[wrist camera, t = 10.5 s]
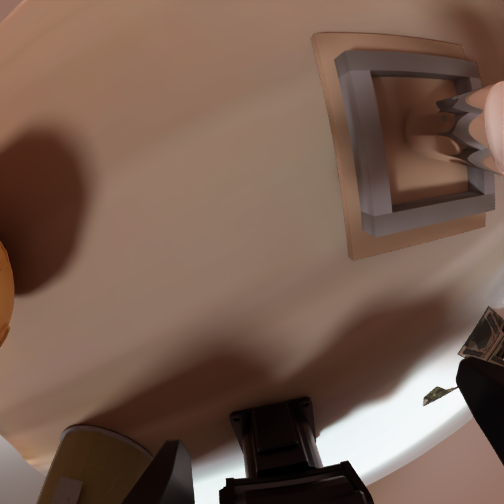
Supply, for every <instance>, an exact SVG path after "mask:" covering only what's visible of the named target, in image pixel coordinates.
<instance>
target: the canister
mask: <svg viewBox="0 0 504 504" xmlns="http://www.w3.org/2000/svg"><path fill="white" fill-rule="evenodd" d="M152 459H153V457H152V456H151V455H150V454H149V453H148V452H147V451H146V450H145V449H144V448H143V447H141V446H140V445H138V444H136V443H135V442H133V441H132V440H130V439H129V438H127V437H124V436H122V435H120V434H117V433H115V432H112V431H109V430H107V429H103V428H99V427H94V426H73V427H70V428H67V429H66V430H64V431H63V432H62V434H61V437H60V445H59V447H58V450H57V452H56V454H55V457H54V459H53V462H52V464H51V467H50V469H49V472H48V474H47V477H46V479H45V482H44V485H43V487H42V490H41V492H40V495H39V498H38V500H37V503H36V504H120V503H121V502H122V501H123V499H124V498H125V497H126V495H127V494H128V493H129V491H130V490H131V488H132V487H133V486H134V484H135V483H136V482H137V480H138V479H139V477H140V476H141V475H142V473H143V472H144V471H145V469H146V468H147V466H148V465H149V464H150V462H151V461H152Z"/></svg>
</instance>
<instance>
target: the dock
mask: <svg viewBox="0 0 504 504" xmlns="http://www.w3.org/2000/svg"><path fill="white" fill-rule="evenodd" d="M311 41H312V45H313V49H314V53H315V57H316V61H317V65H318V69H319V74H320V78H321V83H322V87H323V92H324V96H325V101H326V106H327V111H328V116H329V121H330V126H331V132H332V137H333V143H334V149H335V155H336V161H337V167H338V174H339V180H340V187H341V194H342V202H343V210H344V218H345V227H346V236H347V245H348V256H349V257H350V258H351V259H352V260H353V261H354V260H358V259H362V258H366V257H370V256H375V255H379V254H383V253H387V252H391V251H395V250H399V249H403V248H407V247H411V246H414V245H418V244H422V243H426V242H430V241H434V240H437V239H441V238H445V237H449V236H453V235H456V234H460V233H464V232H467V231H471V230H475V229H478V228H482V227H485V212H487V211H492V210H495V185H494V173H491V172H487V171H484V170H481V169H477V168H473V167H469V166H464V165H460V164H455V163H451V162H446V161H441V160H436V159H431V158H426V157H423V156H421V155H419V154H418V153H416V152H414V151H413V150H411V148H410V146H409V144H408V142H407V140H406V138H405V136H404V120H405V119H406V117H407V116H408V114H409V113H410V111H411V110H412V109H414V108H417V107H420V106H423V105H427V104H430V103H433V102H436V101H440V100H443V99H446V98H450V97H453V96H457V95H460V94H463V93H466V92H469V91H472V90H475V89H478V88H481V87H482V83H481V79H480V74H479V70H478V66H477V63H476V62H471V61H466V59H465V55H464V51H463V48H462V46H461V45H456V44H451V43H445V42H440V41H434V40H427V39H420V38H412V37H403V36H393V35H380V34H361V33H314V34H313V36H312V37H311Z"/></svg>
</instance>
